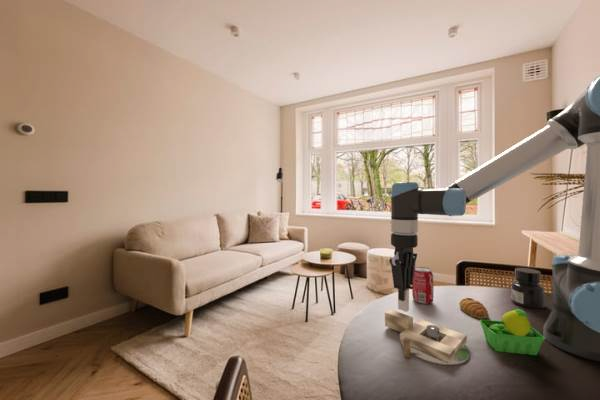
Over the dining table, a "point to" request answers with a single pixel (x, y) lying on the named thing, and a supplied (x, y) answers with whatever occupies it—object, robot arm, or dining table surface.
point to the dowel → (407, 347)
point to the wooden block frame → (418, 331)
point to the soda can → (423, 285)
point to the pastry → (473, 308)
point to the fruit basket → (512, 334)
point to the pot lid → (457, 360)
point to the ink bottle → (527, 289)
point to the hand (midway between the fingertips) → (403, 309)
